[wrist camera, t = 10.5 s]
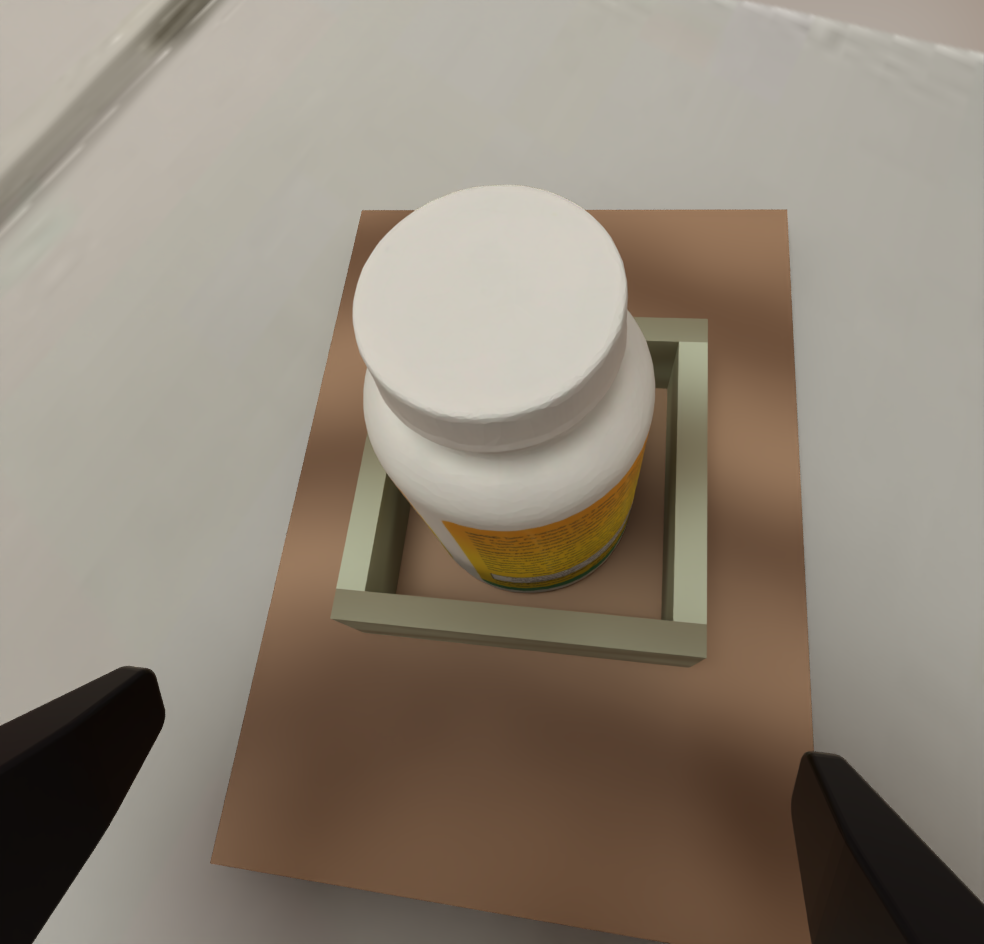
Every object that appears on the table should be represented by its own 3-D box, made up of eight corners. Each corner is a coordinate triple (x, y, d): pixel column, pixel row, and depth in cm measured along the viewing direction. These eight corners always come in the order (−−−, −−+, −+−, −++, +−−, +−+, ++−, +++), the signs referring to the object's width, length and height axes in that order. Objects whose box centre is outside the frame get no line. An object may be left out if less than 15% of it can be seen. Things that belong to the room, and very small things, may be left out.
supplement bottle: (399, 523, 18) (227, 337, 10) (512, 382, 20) (452, 99, 11) (555, 640, 17) (521, 545, 8) (670, 478, 18) (753, 237, 9)
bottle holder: (808, 954, 15) (873, 1020, 11) (230, 855, 17) (147, 886, 14) (778, 231, 22) (812, 143, 18) (370, 230, 24) (336, 152, 21)
